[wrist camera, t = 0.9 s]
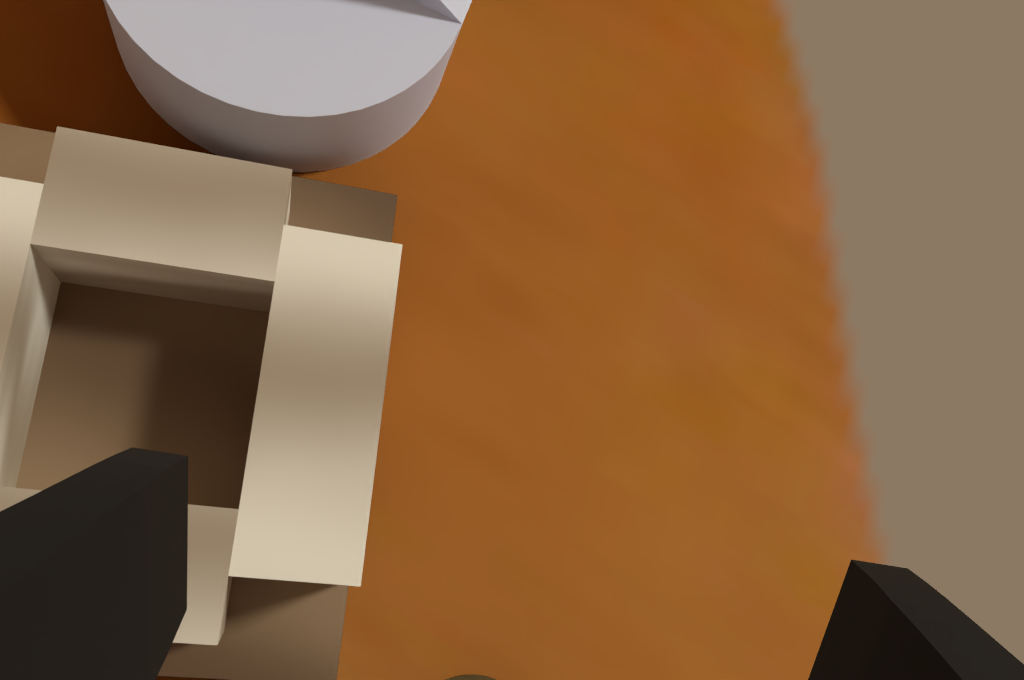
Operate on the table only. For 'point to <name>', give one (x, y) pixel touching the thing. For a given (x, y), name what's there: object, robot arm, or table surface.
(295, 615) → the socket board
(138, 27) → the wedge on round base
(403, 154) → the table surface
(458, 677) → the peg
